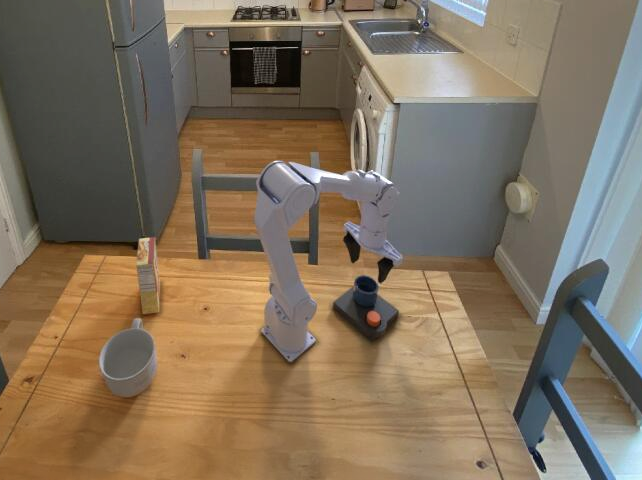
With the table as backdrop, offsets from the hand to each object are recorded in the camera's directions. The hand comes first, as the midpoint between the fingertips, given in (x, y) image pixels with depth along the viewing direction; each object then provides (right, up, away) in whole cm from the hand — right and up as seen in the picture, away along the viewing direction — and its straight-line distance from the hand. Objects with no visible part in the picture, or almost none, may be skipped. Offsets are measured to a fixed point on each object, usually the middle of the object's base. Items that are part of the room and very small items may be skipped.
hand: (367, 270), depth 98 cm
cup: (0, -7, +2) cm, 8 cm away
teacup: (-52, -16, -11) cm, 55 cm away
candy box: (-52, -9, +5) cm, 53 cm away
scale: (-1, -10, +1) cm, 10 cm away
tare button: (0, -9, -5) cm, 11 cm away
